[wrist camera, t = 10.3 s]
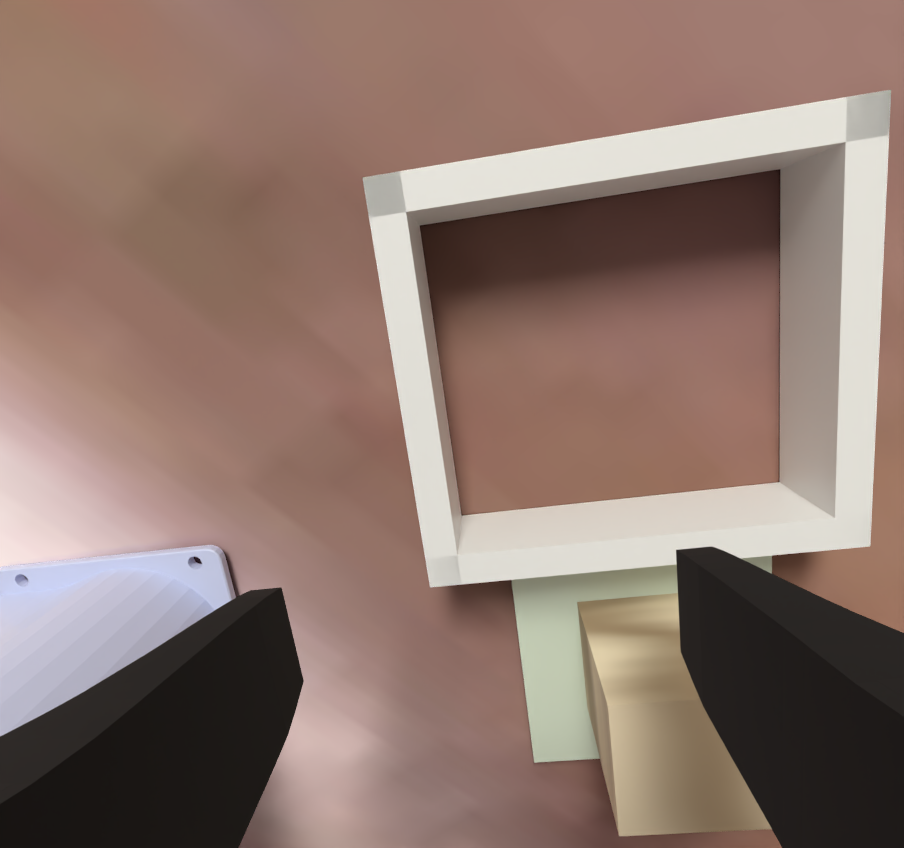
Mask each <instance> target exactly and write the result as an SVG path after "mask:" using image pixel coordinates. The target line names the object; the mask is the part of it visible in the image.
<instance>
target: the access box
mask: <svg viewBox="0 0 904 848" xmlns="http://www.w3.org/2000/svg"><path fill="white" fill-rule="evenodd" d="M890 103H891V90H886V91H880V92H874V93H868V94H862V95H856V96H850V97H844V98H838V99H832V100H826V101H820V102H814V103H808V104H802V105H796V106H790V107H784V108H778V109H772V110H766V111H760V112H754V113H748V114H742V115H736V116H730V117H724V118H718V119H712V120H706V121H700V122H694V123H688V124H682V125H676V126H670V127H664V128H658V129H652V130H646V131H640V132H634V133H628V134H622V135H616V136H610V137H604V138H598V139H592V140H586V141H580V142H574V143H568V144H562V145H556V146H550V147H544V148H538V149H532V150H526V151H519V152H513V153H507V154H501V155H495V156H489V157H483V158H477V159H471V160H465V161H459V162H453V163H447V164H441V165H435V166H429V167H423V168H417V169H411V170H405V171H399V172H393V173H387V174H381V175H375V176H369V177H363V184H364V190H365V196H366V202H367V208H368V214H369V220H370V226H371V232H372V238H373V244H374V250H375V256H376V262H377V268H378V274H379V281H380V287H381V293H382V299H383V305H384V311H385V317H386V323H387V329H388V335H389V341H390V347H391V353H392V359H393V365H394V371H395V378H396V384H397V390H398V396H399V402H400V408H401V414H402V420H403V426H404V432H405V438H406V444H407V450H408V456H409V462H410V468H411V475H412V481H413V487H414V493H415V499H416V505H417V511H418V517H419V523H420V529H421V535H422V541H423V547H424V553H425V559H426V565H427V571H428V578H429V584H430V587H440V586H451V585H461V584H472V583H483V582H493V581H504V580H515V579H526V578H536V577H547V576H558V575H568V574H579V573H590V572H601V571H611V570H622V569H633V568H643V567H654V566H665V565H676V564H677V562H676V550H679V549H690V548H700V547H711V546H712V547H715V548H718V549H720V550H723V551H725V552H728V553H730V554H732V555H734V556H736V557H738V558H751V557H761V556H772V555H783V554H794V553H804V552H815V551H826V550H836V549H847V548H858V547H869V546H870V541H871V519H872V497H873V475H874V453H875V431H876V409H877V388H878V366H879V344H880V322H881V300H882V278H883V256H884V234H885V212H886V190H887V168H888V147H889V125H890ZM778 169H780V478H779V482H777V483H768V484H758V485H749V486H739V487H730V488H720V489H711V490H701V491H692V492H682V493H673V494H663V495H654V496H644V497H635V498H625V499H616V500H606V501H597V502H587V503H578V504H568V505H559V506H549V507H540V508H530V509H520V510H511V511H501V512H492V513H482V514H473V515H463V516H462V515H461V508H460V501H459V494H458V487H457V480H456V474H455V467H454V460H453V453H452V446H451V439H450V432H449V425H448V418H447V411H446V404H445V398H444V391H443V384H442V377H441V370H440V363H439V356H438V349H437V342H436V335H435V329H434V322H433V315H432V308H431V301H430V294H429V287H428V280H427V273H426V266H425V260H424V253H423V246H422V239H421V232H420V225H426V224H433V223H439V222H446V221H452V220H458V219H465V218H471V217H478V216H484V215H490V214H497V213H503V212H510V211H516V210H522V209H529V208H535V207H542V206H548V205H554V204H561V203H567V202H574V201H580V200H586V199H593V198H599V197H606V196H612V195H618V194H625V193H631V192H637V191H644V190H650V189H657V188H663V187H669V186H676V185H682V184H689V183H695V182H701V181H708V180H714V179H721V178H727V177H733V176H740V175H746V174H753V173H759V172H765V171H772V170H778Z"/></svg>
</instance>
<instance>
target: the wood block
mask: <svg viewBox="0 0 904 848" xmlns="http://www.w3.org/2000/svg"><path fill="white" fill-rule="evenodd" d="M577 606H578V616H579V626H580V637H581V647H582V657H583V668H584V678H585V689H586V699H587V708H588V712H589V716H590V720H591V724H592V728H593V732H594V736H595V740H596V744H597V749H598V753H599V757H600V761H601V765H602V769H603V773H604V777H605V781H606V785H607V789H608V793H609V797H610V802H611V806H612V810H613V814H614V818H615V822H616V826H617V830H618V834H619V836H639V835H659V834H679V833H700V832H720V831H740V830H760V829H772V828H771V826H770V825H769V823H768V821H767V819H766V818H765V816H764V814H763V812H762V811H761V809H760V807H759V805H758V803H757V802H756V800H755V798H754V796H753V795H752V793H751V791H750V789H749V788H748V786H747V784H746V782H745V780H744V779H743V777H742V775H741V773H740V772H739V770H738V768H737V766H736V765H735V763H734V761H733V759H732V758H731V756H730V754H729V752H728V750H727V749H726V747H725V745H724V743H723V741H722V740H721V738H720V736H719V734H718V732H717V731H716V729H715V727H714V725H713V723H712V722H711V720H710V718H709V716H708V714H707V713H706V711H705V709H704V707H703V705H702V702H701V700H700V698H699V695H698V693H697V691H696V688H695V686H694V684H693V681H692V679H691V676H690V674H689V671H688V669H687V666H686V664H685V661H684V659H683V656H682V654H681V649H680V627H679V606H678V593H672V594H661V595H650V596H639V597H627V598H616V599H605V600H594V601H583V602H577Z"/></svg>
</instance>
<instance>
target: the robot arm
mask: <svg viewBox="0 0 904 848" xmlns="http://www.w3.org/2000/svg"><path fill="white" fill-rule="evenodd" d="M194 557H198V558H199V559H200V560H201V562H202V564H198V563H197V562H196V561H195V560H194ZM676 562H677V584H678V606H679V627H680V649H681V654H682V656H683V659H684V661H685V664H686V666H687V669H688V671H689V674H690V676H691V679H692V681H693V684H694V686H695V688H696V691H697V693H698V695H699V698H700V700H701V702H702V705H703V707H704V709H705V711H706V713H707V714H708V716H709V718H710V720H711V722H712V723H713V725H714V727H715V729H716V731H717V732H718V734H719V736H720V738H721V740H722V741H723V743H724V745H725V747H726V749H727V750H728V752H729V754H730V756H731V758H732V759H733V761H734V763H735V765H736V766H737V768H738V770H739V772H740V773H741V775H742V777H743V779H744V780H745V782H746V784H747V786H748V788H749V789H750V791H751V793H752V795H753V796H754V798H755V800H756V802H757V803H758V805H759V807H760V809H761V811H762V812H763V814H764V816H765V818H766V819H767V821H768V823H769V825H770V826H771V828H772V830H773V832H774V834H775V835H776V837H777V839H778V841H779V842H780V844H781V846H782V848H904V633H902V632H900V631H897V630H895V629H893V628H890V627H888V626H885V625H883V624H881V623H878V622H876V621H874V620H871V619H869V618H866V617H864V616H862V615H859V614H857V613H855V612H852V611H850V610H848V609H846V608H843V607H841V606H839V605H837V604H835V603H832V602H830V601H828V600H826V599H824V598H821V597H819V596H817V595H815V594H813V593H811V592H809V591H807V590H804V589H802V588H800V587H798V586H796V585H794V584H792V583H790V582H788V581H786V580H784V579H782V578H780V577H778V576H775V575H773V574H771V573H769V572H767V571H765V570H763V569H761V568H759V567H757V566H755V565H753V564H751V563H749V562H747V561H745V560H743V559H741V558H738V557H736V556H734V555H732V554H730V553H728V552H725V551H723V550H720V549H718V548H715V547H712V546H711V547H700V548H690V549H679V550H676ZM24 576H26V577H27V579H28V580H27V579H26V578H25V577H24ZM302 685H303V677H302V673H301V668H300V664H299V660H298V656H297V651H296V647H295V643H294V639H293V635H292V630H291V626H290V622H289V618H288V613H287V609H286V605H285V601H284V597H283V592H282V588H272V589H261V590H251V591H249V592H246V593H244V594H242V595H240V596H238V597H237V598H236V596H235V592H234V588H233V584H232V580H231V577H230V573H229V569H228V565H227V561H226V557H225V555H224V552H223V551H222V550H221V549H220V548H219V547H217V546H215V545H204V546H194V547H185V548H175V549H166V550H156V551H146V552H137V553H127V554H118V555H108V556H99V557H89V558H80V559H70V560H60V561H51V562H41V563H32V564H22V565H13V566H3V567H0V848H238V847H239V845H240V843H241V841H242V838H243V836H244V834H245V832H246V829H247V827H248V825H249V823H250V820H251V818H252V816H253V814H254V811H255V809H256V807H257V805H258V802H259V800H260V798H261V796H262V794H263V791H264V789H265V787H266V785H267V782H268V780H269V778H270V775H271V773H272V771H273V768H274V766H275V764H276V762H277V759H278V757H279V755H280V752H281V750H282V748H283V745H284V743H285V740H286V738H287V736H288V733H289V729H290V726H291V723H292V720H293V717H294V714H295V710H296V707H297V703H298V699H299V696H300V692H301V689H302Z"/></svg>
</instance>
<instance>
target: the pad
mask: <svg viewBox="0 0 904 848" xmlns="http://www.w3.org/2000/svg"><path fill="white" fill-rule="evenodd" d="M741 559H743V560H745V561H747V562H749V563H751V564H753V565H755V566H757V567H759V568H761V569H763V570H765V571H767V572H769V573H771V574H772V556H761V557H751V558H741ZM511 581H512V589H513V597H514V605H515V613H516V621H517V629H518V637H519V645H520V653H521V661H522V669H523V677H524V685H525V693H526V701H527V709H528V717H529V725H530V733H531V741H532V749H533V756H534V763H536V762H552V761H568V760H584V759H600V757H599V753H598V749H597V744H596V740H595V736H594V732H593V728H592V724H591V720H590V716H589V712H588V708H587V699H586V689H585V678H584V668H583V657H582V647H581V637H580V626H579V616H578V606H577V602H583V601H594V600H605V599H616V598H627V597H639V596H650V595H661V594H672V593H678V584H677V564H676V565H665V566H654V567H643V568H633V569H622V570H611V571H601V572H590V573H579V574H568V575H558V576H547V577H536V578H526V579H515V580H511Z"/></svg>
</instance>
